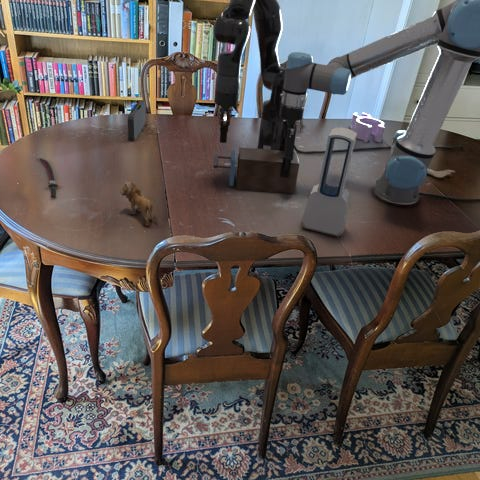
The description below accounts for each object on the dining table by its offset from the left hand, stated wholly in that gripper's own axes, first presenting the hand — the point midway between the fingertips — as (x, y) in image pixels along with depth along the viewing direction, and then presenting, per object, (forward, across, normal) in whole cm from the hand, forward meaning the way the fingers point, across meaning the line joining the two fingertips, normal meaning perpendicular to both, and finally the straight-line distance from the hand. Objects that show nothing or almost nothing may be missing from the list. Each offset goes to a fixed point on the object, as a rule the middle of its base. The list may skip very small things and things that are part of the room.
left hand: (223, 142), depth 153 cm
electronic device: (+14, +27, +31) cm, 44 cm away
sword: (+14, +7, -56) cm, 58 cm away
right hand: (+8, 0, +21) cm, 23 cm away
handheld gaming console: (+14, -41, -35) cm, 56 cm away
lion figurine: (+14, +27, -23) cm, 39 cm away
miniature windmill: (+14, -62, +33) cm, 71 cm away
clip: (+14, -61, +66) cm, 91 cm away
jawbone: (+14, -26, +84) cm, 89 cm away
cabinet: (+14, 0, +16) cm, 21 cm away
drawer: (+13, 0, +10) cm, 16 cm away
